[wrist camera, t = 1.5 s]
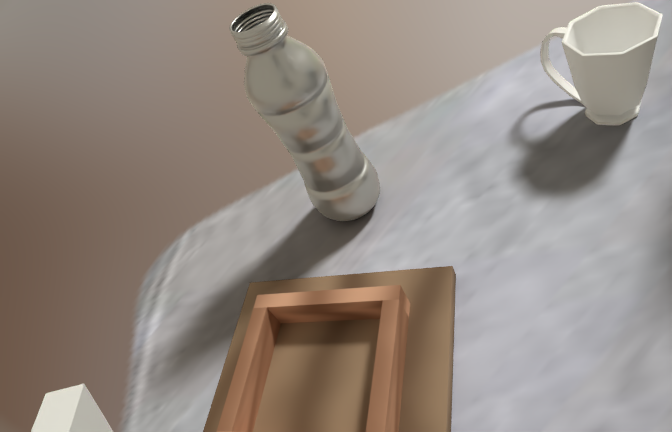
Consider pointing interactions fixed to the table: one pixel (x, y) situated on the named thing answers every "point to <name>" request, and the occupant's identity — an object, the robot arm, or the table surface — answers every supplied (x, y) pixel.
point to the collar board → (341, 355)
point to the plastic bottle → (304, 114)
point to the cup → (607, 59)
